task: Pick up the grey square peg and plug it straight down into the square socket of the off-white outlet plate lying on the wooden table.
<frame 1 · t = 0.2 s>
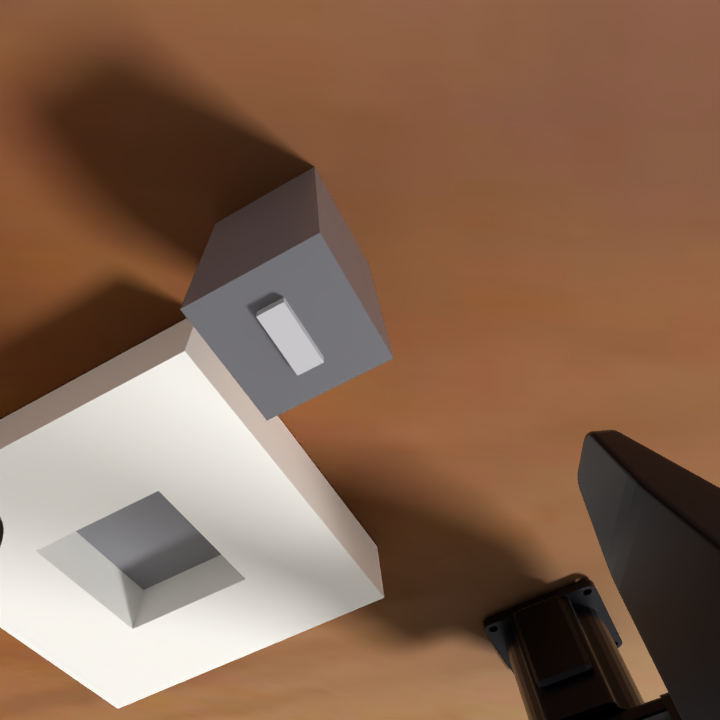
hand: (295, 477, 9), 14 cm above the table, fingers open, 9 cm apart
grey square peg: (294, 243, 21), on the table
outlet plate: (159, 513, 27), on the table
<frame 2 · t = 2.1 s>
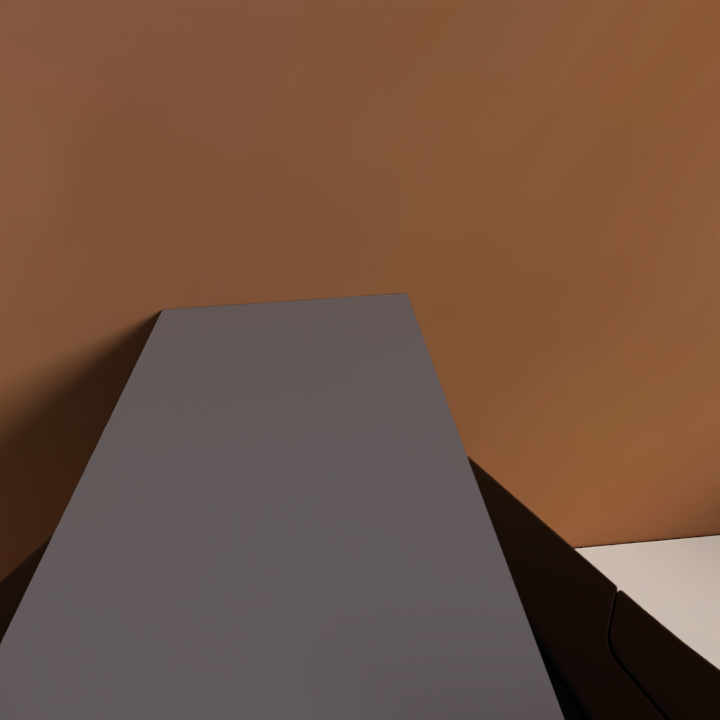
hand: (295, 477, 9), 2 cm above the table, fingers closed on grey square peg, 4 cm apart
grey square peg: (296, 402, 11), on the table, touching gripper
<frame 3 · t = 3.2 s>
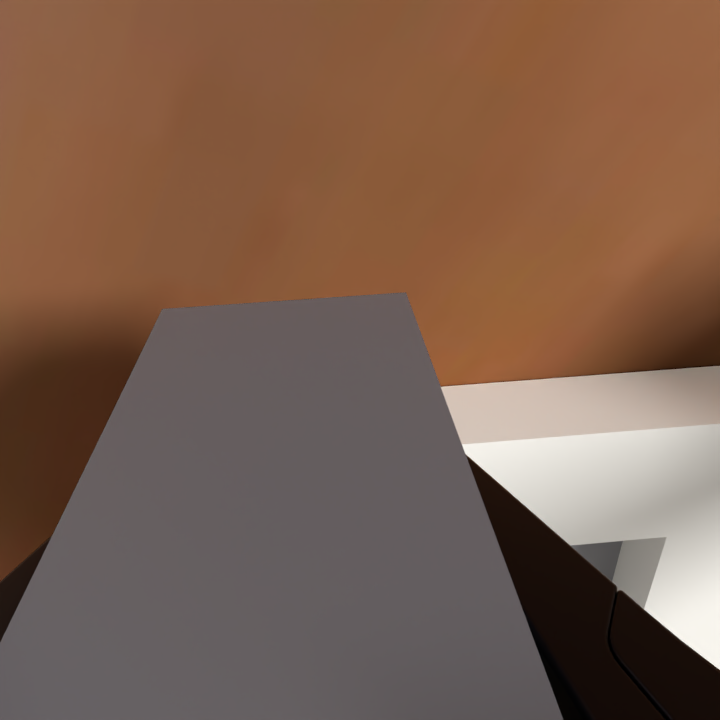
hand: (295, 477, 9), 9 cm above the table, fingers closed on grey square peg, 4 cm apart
grey square peg: (296, 401, 11), point 7 cm above the table, touching gripper
outlet plate: (534, 539, 23), on the table
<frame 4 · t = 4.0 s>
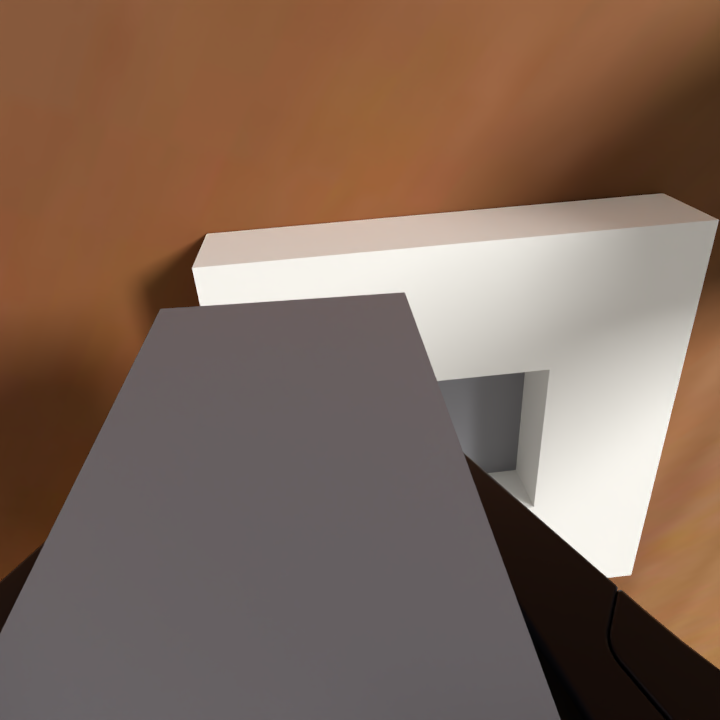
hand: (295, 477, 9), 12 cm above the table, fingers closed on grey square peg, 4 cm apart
grey square peg: (295, 401, 11), point 10 cm above the table, touching gripper
outlet plate: (438, 403, 23), on the table
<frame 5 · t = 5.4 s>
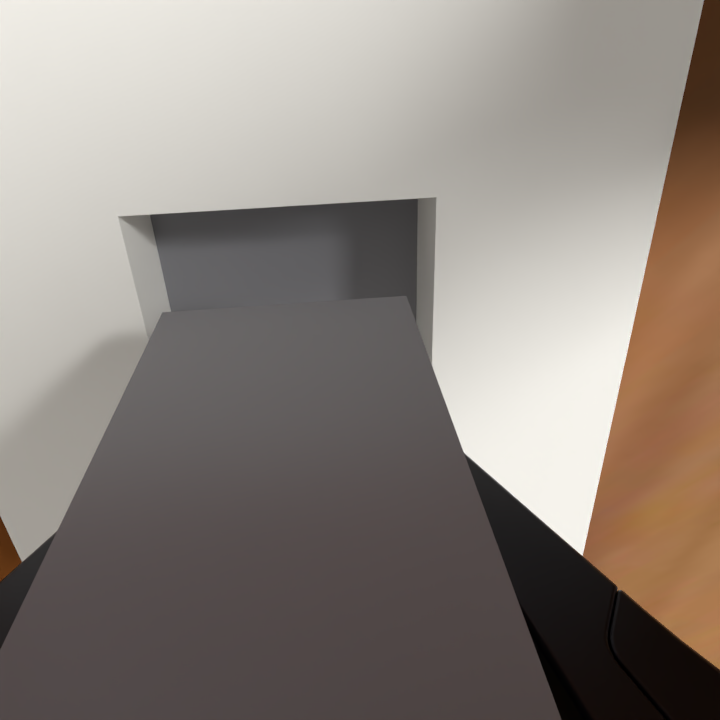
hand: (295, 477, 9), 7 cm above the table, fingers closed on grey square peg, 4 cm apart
grey square peg: (296, 404, 11), point 5 cm above the table, touching gripper
outlet plate: (295, 290, 15), on the table
when the fingers open (4 cm above the table, at t = 6.2 s): grey square peg drops 1 cm, resting on outlet plate.
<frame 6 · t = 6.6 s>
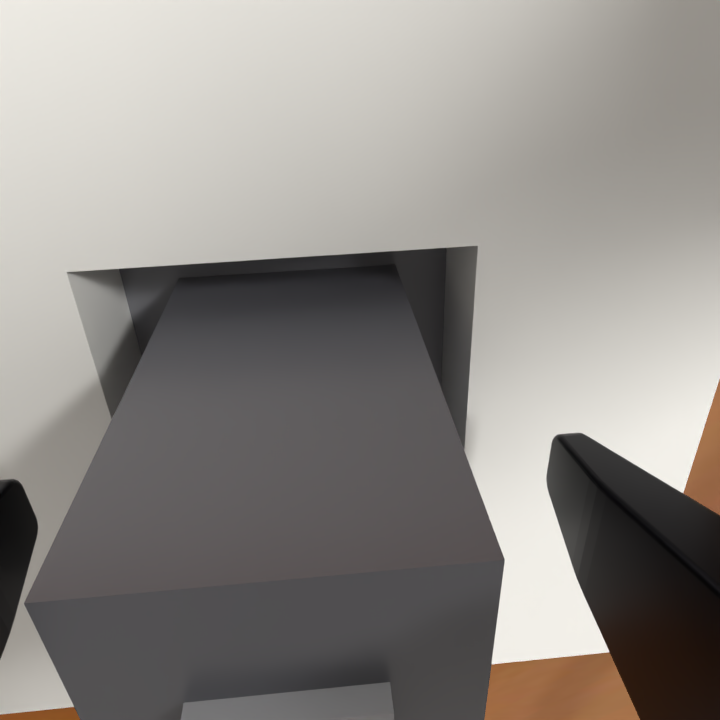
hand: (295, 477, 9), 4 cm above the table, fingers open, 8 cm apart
grey square peg: (297, 363, 12), point 1 cm above the table, touching outlet plate
outlet plate: (296, 341, 13), on the table
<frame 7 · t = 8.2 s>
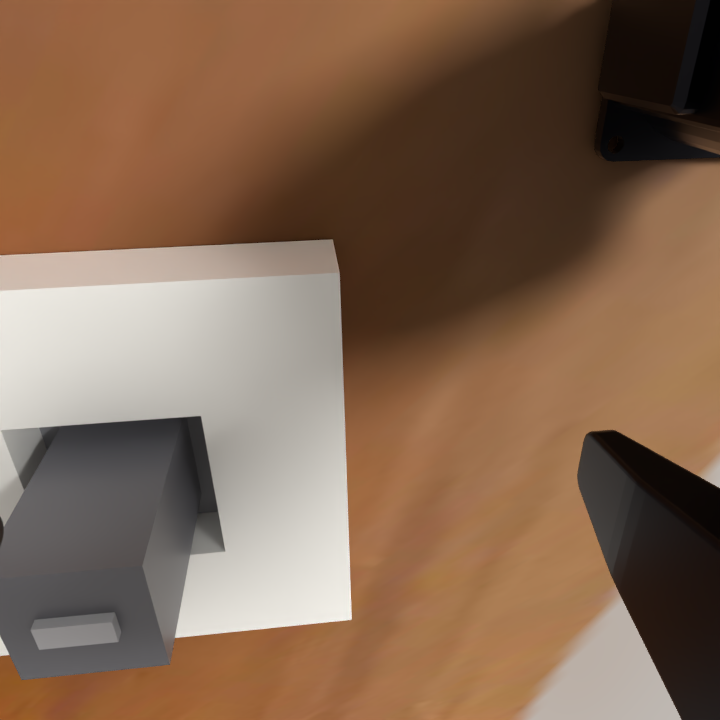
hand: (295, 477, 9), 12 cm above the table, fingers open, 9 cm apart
grey square peg: (137, 457, 22), point 1 cm above the table, touching outlet plate
outlet plate: (142, 441, 22), on the table
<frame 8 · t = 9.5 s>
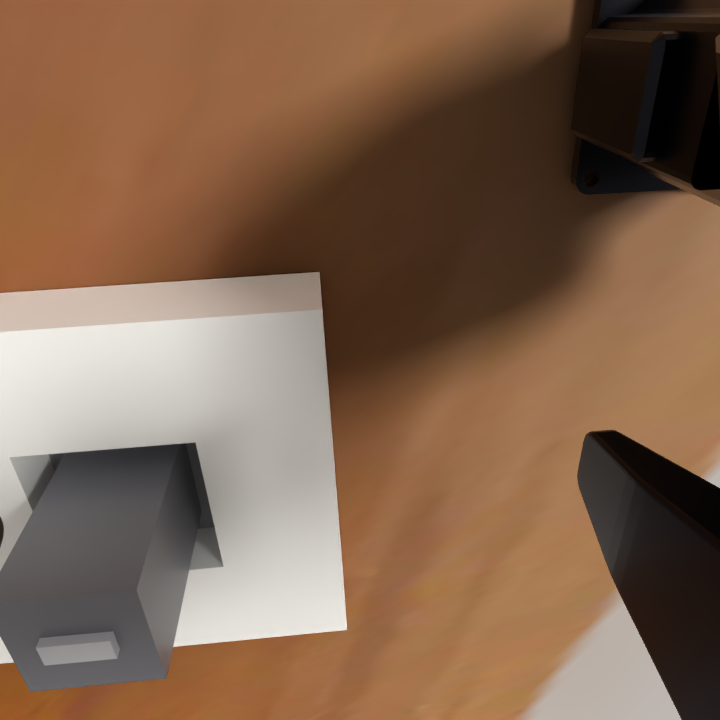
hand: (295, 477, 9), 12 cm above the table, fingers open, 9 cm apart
grey square peg: (140, 477, 23), point 1 cm above the table, touching outlet plate
outlet plate: (144, 461, 23), on the table
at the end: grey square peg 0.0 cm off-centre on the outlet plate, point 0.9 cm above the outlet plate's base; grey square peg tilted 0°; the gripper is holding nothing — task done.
